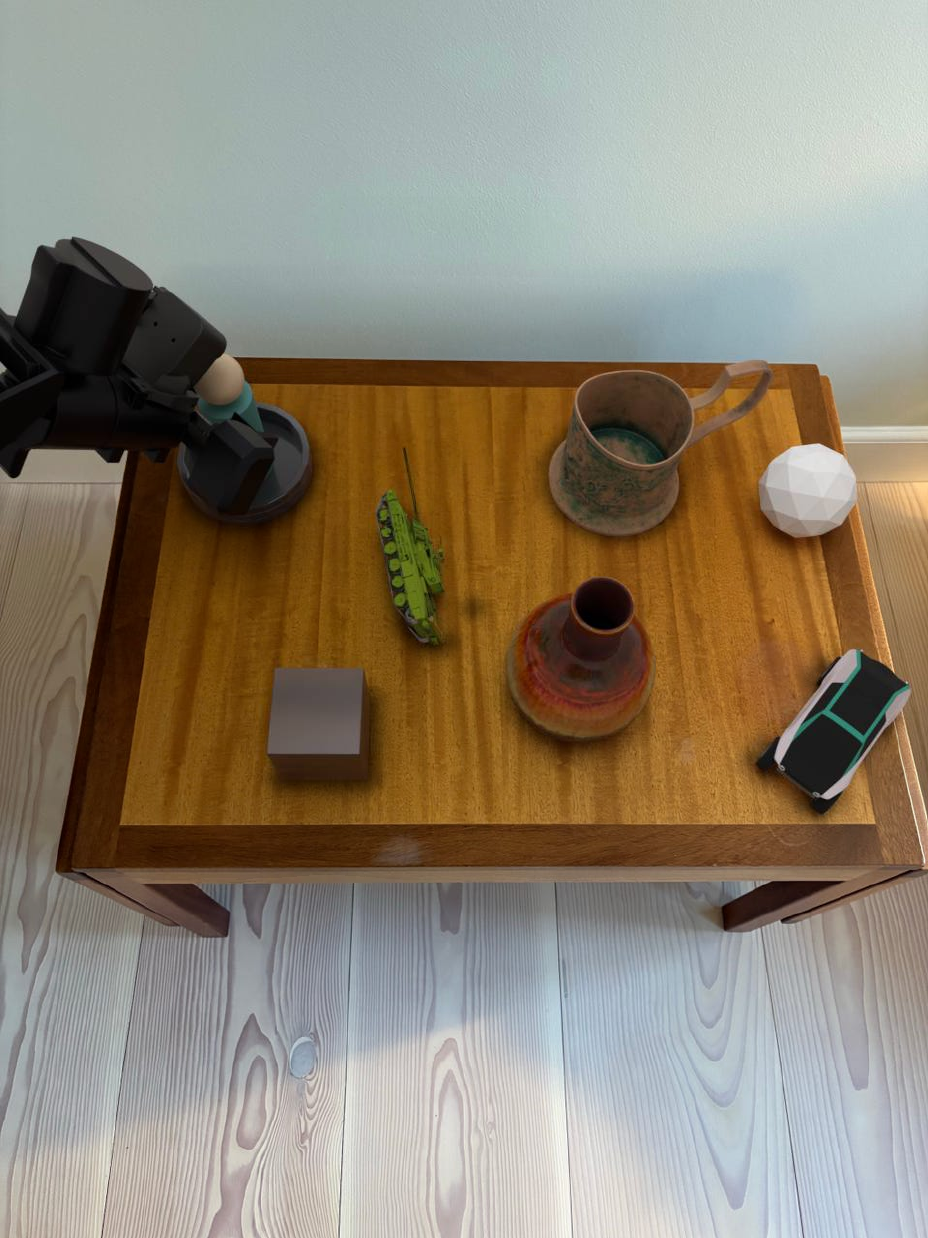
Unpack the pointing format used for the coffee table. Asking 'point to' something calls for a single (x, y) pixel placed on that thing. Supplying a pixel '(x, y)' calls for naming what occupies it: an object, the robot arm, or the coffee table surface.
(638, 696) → the vase
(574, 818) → the coffee table surface
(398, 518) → the toy tank
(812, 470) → the geometric ball
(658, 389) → the mug
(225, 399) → the wooden doll
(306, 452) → the round grey tray
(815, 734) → the toy car
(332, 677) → the walnut block
